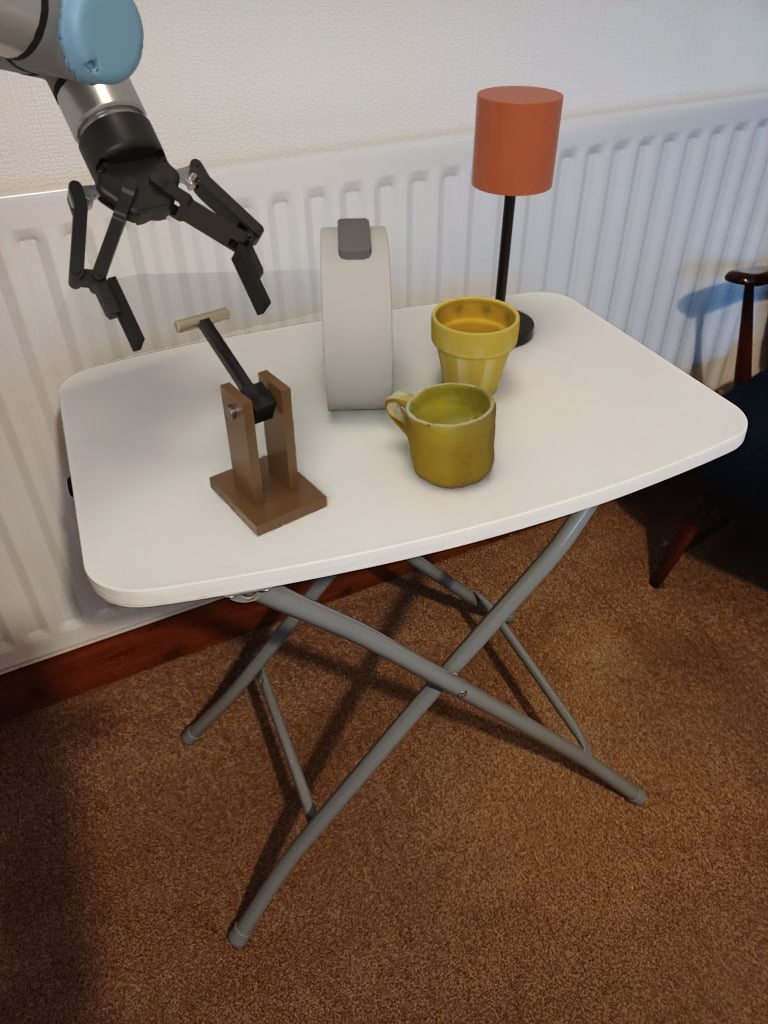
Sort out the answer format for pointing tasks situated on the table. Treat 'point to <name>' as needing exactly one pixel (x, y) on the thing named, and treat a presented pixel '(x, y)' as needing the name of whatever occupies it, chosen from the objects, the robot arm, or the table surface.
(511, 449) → the table surface
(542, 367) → the table surface
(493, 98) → the lamp
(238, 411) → the wooden lever stand
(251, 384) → the switch lever
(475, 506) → the table surface
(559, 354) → the table surface
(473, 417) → the mug
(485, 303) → the flower pot
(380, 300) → the alarm clock
